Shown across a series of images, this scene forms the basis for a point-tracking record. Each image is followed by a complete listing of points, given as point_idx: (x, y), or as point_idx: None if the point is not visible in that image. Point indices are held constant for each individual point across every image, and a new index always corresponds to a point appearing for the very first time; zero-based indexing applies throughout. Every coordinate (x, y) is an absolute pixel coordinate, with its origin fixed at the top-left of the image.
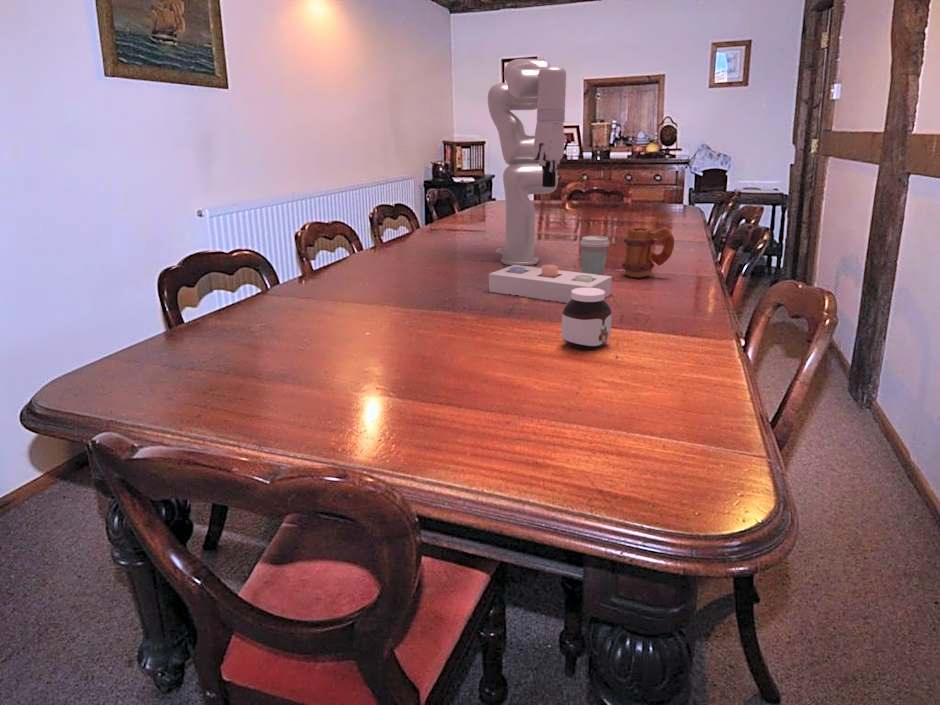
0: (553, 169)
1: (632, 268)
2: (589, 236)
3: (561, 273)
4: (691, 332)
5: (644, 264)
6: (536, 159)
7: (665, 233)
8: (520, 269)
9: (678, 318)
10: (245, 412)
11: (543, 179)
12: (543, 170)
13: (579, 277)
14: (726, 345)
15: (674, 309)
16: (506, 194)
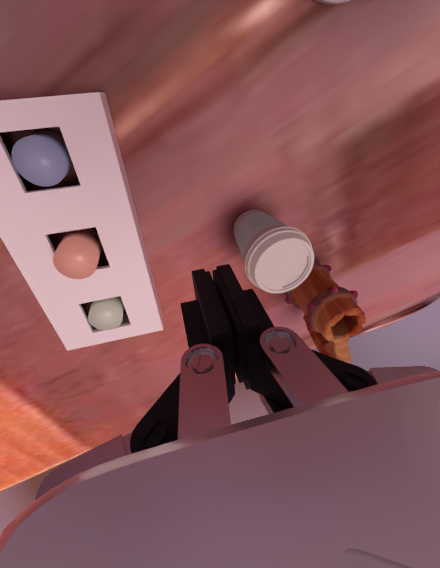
0: (260, 393)
1: None
2: (302, 244)
3: (114, 260)
4: (82, 428)
5: (294, 304)
6: (114, 475)
7: None
8: (40, 176)
9: (119, 402)
10: None
11: (199, 301)
12: (183, 371)
13: (94, 316)
14: (73, 453)
15: (151, 384)
16: None
